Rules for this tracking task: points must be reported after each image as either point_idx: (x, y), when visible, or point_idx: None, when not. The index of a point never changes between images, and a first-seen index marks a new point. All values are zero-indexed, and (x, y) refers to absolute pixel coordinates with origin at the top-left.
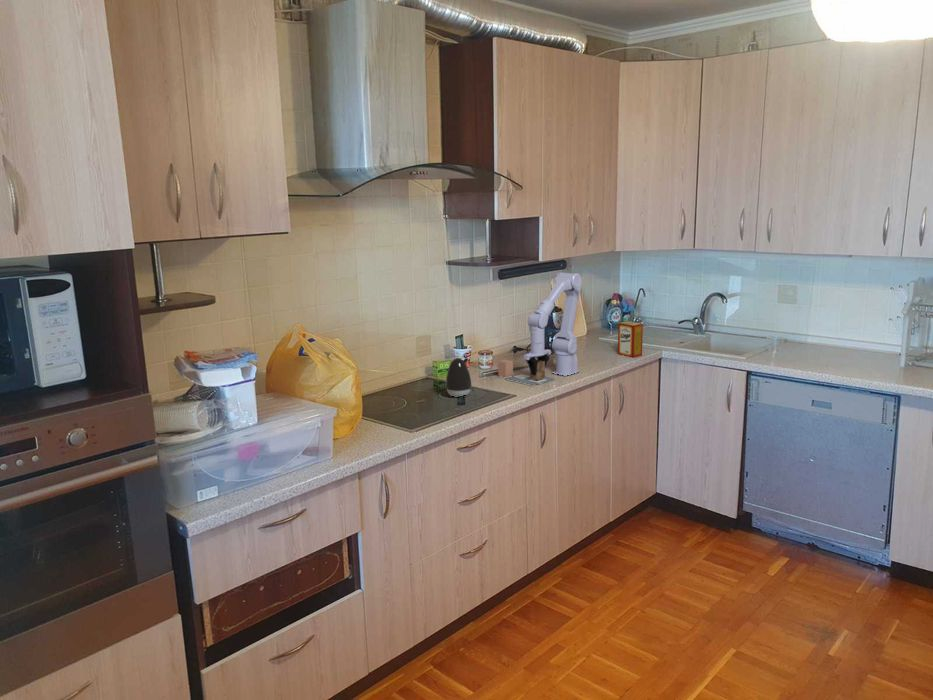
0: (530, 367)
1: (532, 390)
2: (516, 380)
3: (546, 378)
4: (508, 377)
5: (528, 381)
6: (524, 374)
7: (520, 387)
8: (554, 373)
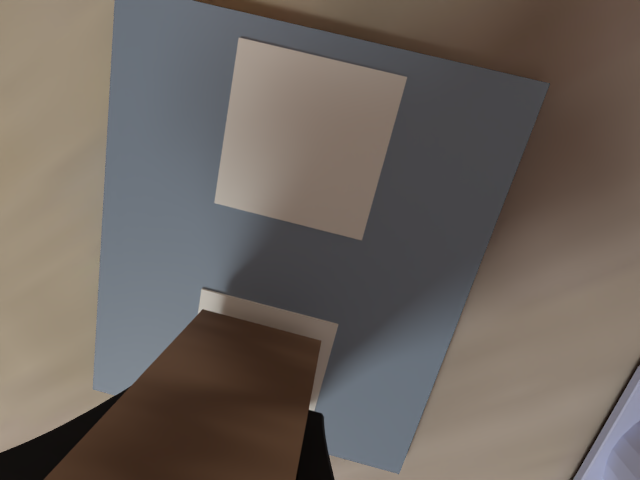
0: (77, 436)
1: (11, 423)
2: (123, 176)
3: (362, 410)
4: (175, 2)
5: (165, 307)
6: (418, 113)
7: (9, 306)
8: (626, 396)
